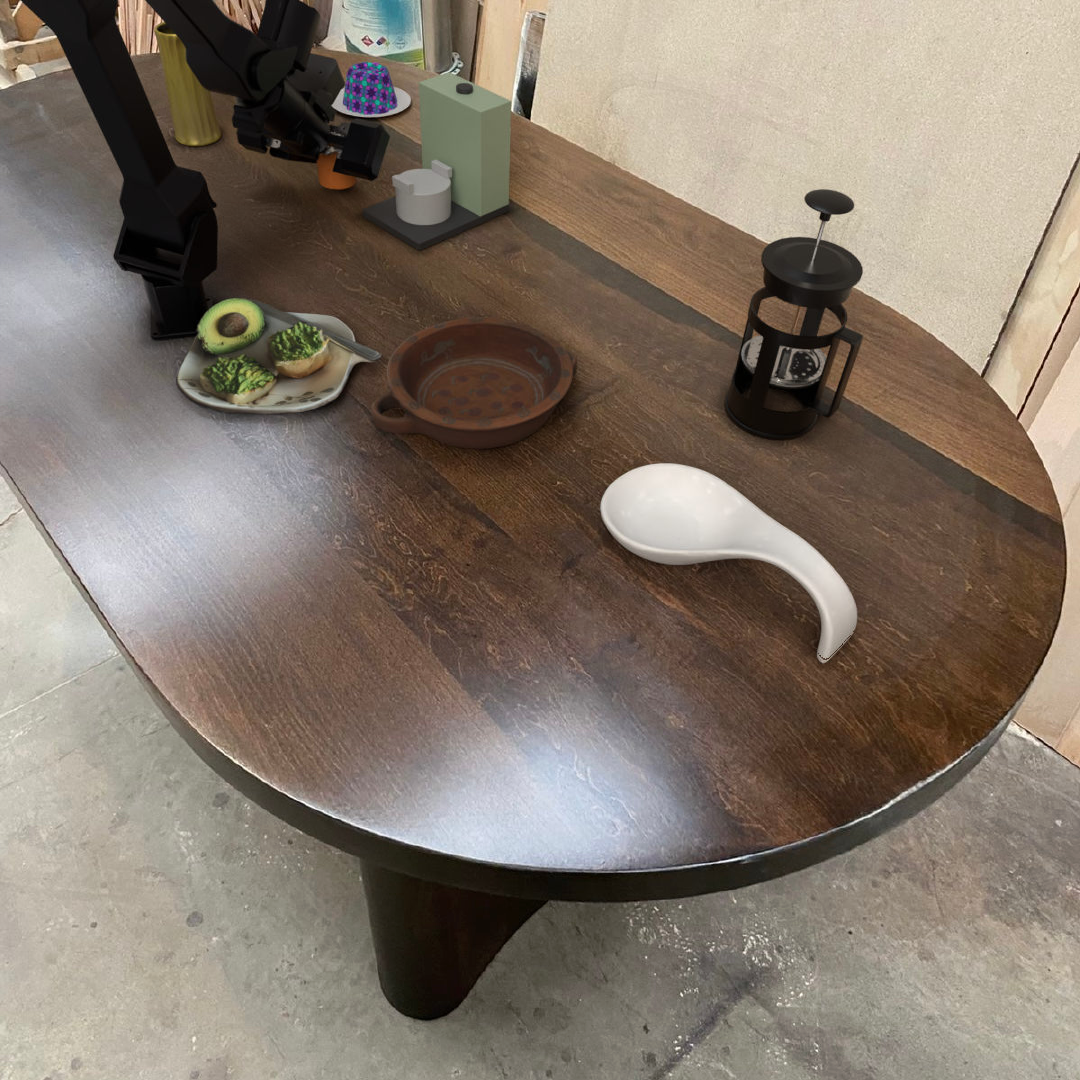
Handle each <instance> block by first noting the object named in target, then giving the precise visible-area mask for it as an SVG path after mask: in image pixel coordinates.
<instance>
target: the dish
mask: <svg viewBox="0 0 1080 1080" xmlns="http://www.w3.org/2000/svg"><path fill="white" fill-rule="evenodd" d="M577 370H578V358H577V355H576V354H575V353H573V352H572V351H570V350H568V349H566V348H564V346H563V345H562V344H560V342H558V341H557V340H556V339H554V338H553V337H551V335H550V336H549V335H548V334H546V333H545V332H543V331H540V330H538V329H537V328H534V327H532V326H530V325H528V324H525V323H522V322H518V321H515V320H509V319H503V318H498V317H497V318H496V317H489V316H488V317H487V316H472V317H463V318H456V319H452V320H447V321H443V322H440V323H436V324H433V325H431V326H427V327H426V328H424V329H422V330H419V331H417V332H415V333H414V334H412V335H410V336H409V337H407V338H406V339H405V340H404V341H402V343H400V345H398V347H397V348H395V350H394V351H393V353H392V354H391V356H390V358H389V359H388V362H387V367H386V379H387V388H388V390H387V391H386V392H384V393H382V394H381V395H379V396H378V397H377V398H376V399H375V401H373V403H372V405H371V409H370V411H371V417H372V422H373V424H374V425H375V426H376V428H378V429H379V430H382V431H383V432H385V433H390V434H395V435H402V434H403V435H404V434H407V435H408V434H422V435H424V436H426V437H430V439H433V440H434V441H437V442H440V443H442V444H446V445H448V446H451V447H455V448H461V449H469V450H471V449H472V450H477V449H478V450H482V449H483V450H485V449H495V448H500V447H506V446H509V445H512V444H515V443H517V442H521V441H523V440H525V439H526V438H528V437H530V436H531V435H533V434H535V432H537V431H539V430H540V429H541V428H542V427H543V426H544V424H545V423H546V422H547V421H548V420H549V418H550V417H551V415H552V414H553V413H554V411H555V409H556V407H557V406H558V404H559V403H560V401H561V400H562V399H563V398H564V397H565V396H566V394H567V392H568V391H569V390H570V387H571V385H572V383H573V378H574V377H575V375H576V374H577ZM395 409H400V410H402V411H403V412H404V415H403V416H401V417H392V416H387V415H384V414H383V413H385V412H388V411H390V410H395Z"/></svg>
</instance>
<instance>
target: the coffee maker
mask: <svg viewBox="0 0 1080 1080" xmlns="http://www.w3.org/2000/svg"><path fill="white" fill-rule="evenodd" d="M418 98H419V101H418V102H419V122H420V123H419V124H420V143H421V144H420V145H421V146H420V147H421V167H422V168H414V169H409V170H406V171H403V172H401V173H399V174H395V175H392V176H391V179H392V186H393V187H394V190H395V191H394V193H395V196H392V197H389V198H387V199H385V200H382V201H380V202H378V203H375V204H372V205H369V206H368V207H365V208H362V209H361V214H362V218H364V219H366V220H368V221H369V222H371V223H372V224H374V225H376V226H377V227H379V228H381V229H382V230H384V231H385V232H387V233H389V234H390V235H392V236H394V237H395V238H397V239H398V240H399V241H402V242H403V243H406V244H407V245H408V246H410V247H411V248H414V249H415V250H417V251H419V252H420V251H423V250H425V249H427V248H429V247H432V246H435V245H437V244H439V243H440V242H443V241H446V240H448V239H450V238H452V237H454V236H457V235H459V234H461V233H464V232H465V231H468V230H470V229H473V228H475V227H477V226H479V225H482V224H484V223H486V222H488V221H491V220H493V219H496V218H498V217H500V216H502V215H504V214H506V213H508V212H509V211H510V177H511V175H510V170H511V135H512V129H511V128H512V100H510V99H508V98H506V97H504V96H501V95H500V94H497V93H496V92H493V91H491V90H489V89H486V88H484V87H482V86H480V85H478V84H476V83H474V82H473V81H472V82H471V81H469V80H467V79H465V78H463V77H460V76H459V75H457V74H455V73H452V72H445V73H442V74H439V75H437V76H434V77H431V78H430V77H429V78H428V79H424V80H421V81H419V82H418Z"/></svg>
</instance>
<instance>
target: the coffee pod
mask: <svg viewBox="0 0 1080 1080" xmlns="http://www.w3.org/2000/svg"><path fill="white" fill-rule="evenodd" d="M339 136H341V135H340V134H339ZM328 147H329V146H328ZM333 149H334V147H331V152H330V154H329V155H323V154H320V155H319V158H318V160H316V161H317V164H316V167H317V168H316V169H317V176H318V177H317V178H318V183H319V184H320V185H321V186H322V187H323V188H326V189H330V190H344V189H349V188H351V187H353V186H354V185H355V184H357V181H358V177H354V176H348V175H344V174H340V173H336V172H333V171H332V170H333V167H334V164H335V160H336V155H337V154H338V153H335V152H334V151H333Z"/></svg>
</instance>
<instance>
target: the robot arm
mask: <svg viewBox="0 0 1080 1080" xmlns="http://www.w3.org/2000/svg"><path fill="white" fill-rule="evenodd" d="M19 1H20V2H21V3H22V4H23V5H25V6H26V8H28V9H29V10H30V11H31V12H32V13H33V14H34V15H35V16H36V17H37V18H38V19H39V20H41V22H42V23H44V24H45V26H46V27H47V28H48V29H50V31H52V32H53V34H54V35H55V37H56V39H57V40H58V42H59V45H60V47H61V48H62V51H63V53H64V55H65V57H66V60H67V62H68V63H69V66H70V68H71V70H72V72H73V74H74V76H75V78H76V81H77V82H78V83H77V84H78V85H79V87H80V89H81V90H82V93H83V95H84V97H85V100H86V101H87V103H88V106H89V108H90V110H91V112H92V114H93V116H94V119H95V120H96V122H97V125H98V127H99V129H100V131H101V134H102V135H103V138H104V139H105V142H106V144H107V145H108V148H109V150H110V152H111V154H112V156H113V158H114V160H115V163H116V165H117V166H118V169H119V171H120V173H121V175H122V176H121V177H122V178H123V181H122V184H121V189H120V194H119V199H118V202H119V206H120V209H121V212H122V215H123V217H124V218H123V221H122V224H121V227H120V231H119V235H118V238H117V241H116V245H115V248H114V251H113V254H112V255H113V256H112V258H113V260H114V261H115V263H116V264H117V266H119V268H120V270H121V271H124V272H129V273H134V274H137V275H140V276H141V280H142V282H143V286H144V289H145V293H146V296H147V300H148V303H149V309H150V311H149V313H150V314H149V315H150V319H149V320H150V326H149V327H150V329H149V330H150V334H149V335H150V338H151V340H153V341H161V340H168V339H169V340H170V339H178V338H188V337H196V336H197V326H198V324H199V321H200V319H201V318H202V316H203V315H204V314H205V312H206V311H207V310H208V309H210V308H211V307H212V306H213V305H214V300H213V298H212V297H210V296H208V297H207V296H206V292H205V288H204V283H203V281H204V280H205V279H207V278H209V276H210V275H212V274H213V273H214V272H215V271H216V270H217V269H218V249H219V247H218V245H219V225H218V219H217V218H218V217H217V214H216V211H215V210H214V208H217V207H218V204H217V203H216V201H214V199H213V198H212V196H211V194H210V190H209V186H208V183H207V179H206V178H205V177H204V175H203V173H202V172H201V171H199V170H194V169H191V168H187V167H183V166H179V165H177V164H176V162H175V160H174V158H173V156H172V153H171V151H170V148H169V146H168V143H167V141H166V139H165V136H164V134H163V132H162V130H161V127H160V125H159V121H158V119H157V118H156V115H155V113H154V110H153V107H152V105H151V103H150V101H149V98H148V95H147V93H146V91H145V88H144V86H143V83H142V81H141V79H140V77H139V74H138V71H137V69H136V67H135V64H134V62H133V60H132V57H131V54H130V52H129V50H128V47H127V45H126V43H125V40H124V38H123V35H122V33H121V30H120V28H119V25H118V22H117V19H116V13H117V7H118V2H119V0H19ZM144 1H145V2H146V3H147V4H148V5H149V6H150V8H151V9H152V10H153V11H154V12H155V13H156V14H157V16H158V17H159V18H160V19H161V20H162V22H165V23H166V24H167V25H168V26H169V28H170V29H171V30H172V31H173V32H174V33H175V34H176V35H177V37H178V38H179V39H180V40H181V42H182V43H183V45H184V46H185V51H186V62H187V64H188V65H189V67H190V69H191V70H192V72H193V73H194V75H195V76H196V78H197V79H198V81H199V82H200V84H201V85H202V87H204V88H205V89H206V90H208V91H210V92H211V93H217V94H221V95H224V96H225V95H226V96H229V97H235V104H233V106H232V108H233V112H232V115H231V122H232V123H231V124H232V127H233V128H235V129H236V132H235V133H236V139H237V142H238V144H239V145H240V146H242V147H243V148H244V149H245V150H248V151H252V152H255V153H259V154H263V155H265V154H267V153H269V155H270V156H271V157H273V158H277V159H281V160H285V161H290V162H298V163H308V164H315V165H317V161H316V160H318V158H319V155H320V154H323V155H329V154H330V152H331V147H334V149H333V151H334V152H335V153H338V154H337V155H336V160H335V164H334V167H333V170H332V171H333V172H336V173H340V174H344V175H348V176H354V177H357V179H362V180H366V181H370V182H373V181H375V180H377V179H378V178H379V175H380V172H381V168H382V165H383V161H384V158H385V154H386V152H387V149H388V144H389V142H390V138H391V135H390V133H389V131H388V129H387V128H385V126H384V125H383V124H382V123H378V122H374V121H370V120H366V119H361V118H359V117H358V118H357V117H356V118H354V119H352V121H350V122H346V121H345V122H341V123H340V124H339V125H333V124H330V122H332V123H333V122H334V121H335V118H336V115H337V110H336V109H335V108H333V107H332V106H331V105H332V104H333V103H334V101H335V100H336V98H337V96H338V94H339V93H340V91H341V89H343V88H344V87H345V83H346V80H345V78H344V76H343V73H342V71H341V68H340V66H339V64H338V61H337V60H336V58H334V57H330V56H326V55H321V54H317V53H311V52H312V49H313V46H314V43H315V39H316V35H317V32H318V28H319V25H320V21H321V18H322V17H321V14H320V13H319V11H318V10H317V8H315V7H313V6H310V5H309V4H307V3H305V2H304V1H302V0H265V2H264V9H263V11H262V14H261V18H260V22H259V25H258V29H257V32H256V33H254V32H253V30H251V29H249V28H247V27H245V26H244V25H242V24H240V23H238V22H236V21H234V20H233V19H231V18H230V17H229V16H227V15H226V14H225V13H224V12H223V10H221V8H220V7H219V6H218V4H217V3H216V2H215V1H214V0H144ZM339 134H340V135H341V136H339ZM328 146H329V147H328ZM268 149H269V150H268Z"/></svg>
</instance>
